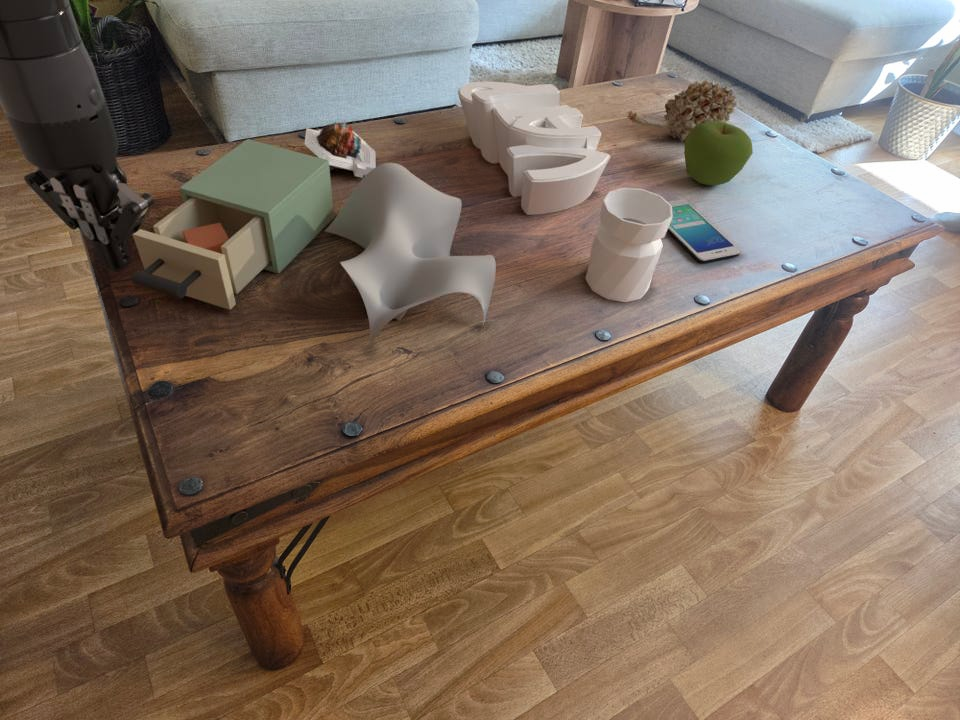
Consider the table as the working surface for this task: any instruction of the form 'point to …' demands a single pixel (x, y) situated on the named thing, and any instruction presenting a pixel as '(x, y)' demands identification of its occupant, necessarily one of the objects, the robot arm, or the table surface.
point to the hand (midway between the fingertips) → (118, 266)
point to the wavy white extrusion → (534, 143)
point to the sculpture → (406, 246)
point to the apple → (716, 152)
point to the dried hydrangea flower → (692, 109)
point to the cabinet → (271, 194)
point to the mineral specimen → (341, 148)
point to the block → (207, 237)
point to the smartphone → (699, 234)
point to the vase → (627, 243)
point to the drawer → (202, 254)
